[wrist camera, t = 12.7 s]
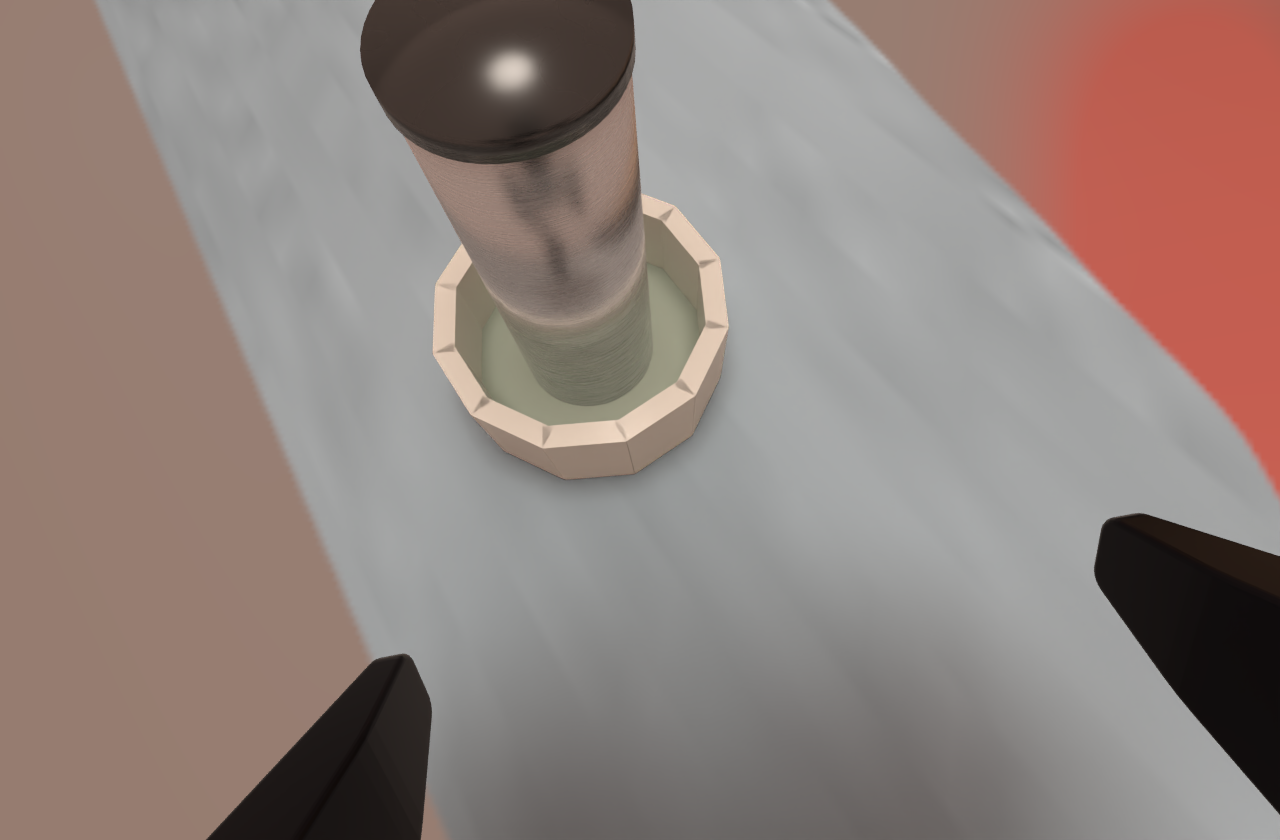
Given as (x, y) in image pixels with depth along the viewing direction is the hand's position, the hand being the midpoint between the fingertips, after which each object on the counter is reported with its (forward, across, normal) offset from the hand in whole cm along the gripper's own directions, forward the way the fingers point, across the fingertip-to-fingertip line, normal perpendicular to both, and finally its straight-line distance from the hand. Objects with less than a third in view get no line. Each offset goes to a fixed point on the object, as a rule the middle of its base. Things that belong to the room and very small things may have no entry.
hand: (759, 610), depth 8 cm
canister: (+16, +2, +2) cm, 16 cm away
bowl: (+17, +2, +2) cm, 17 cm away
